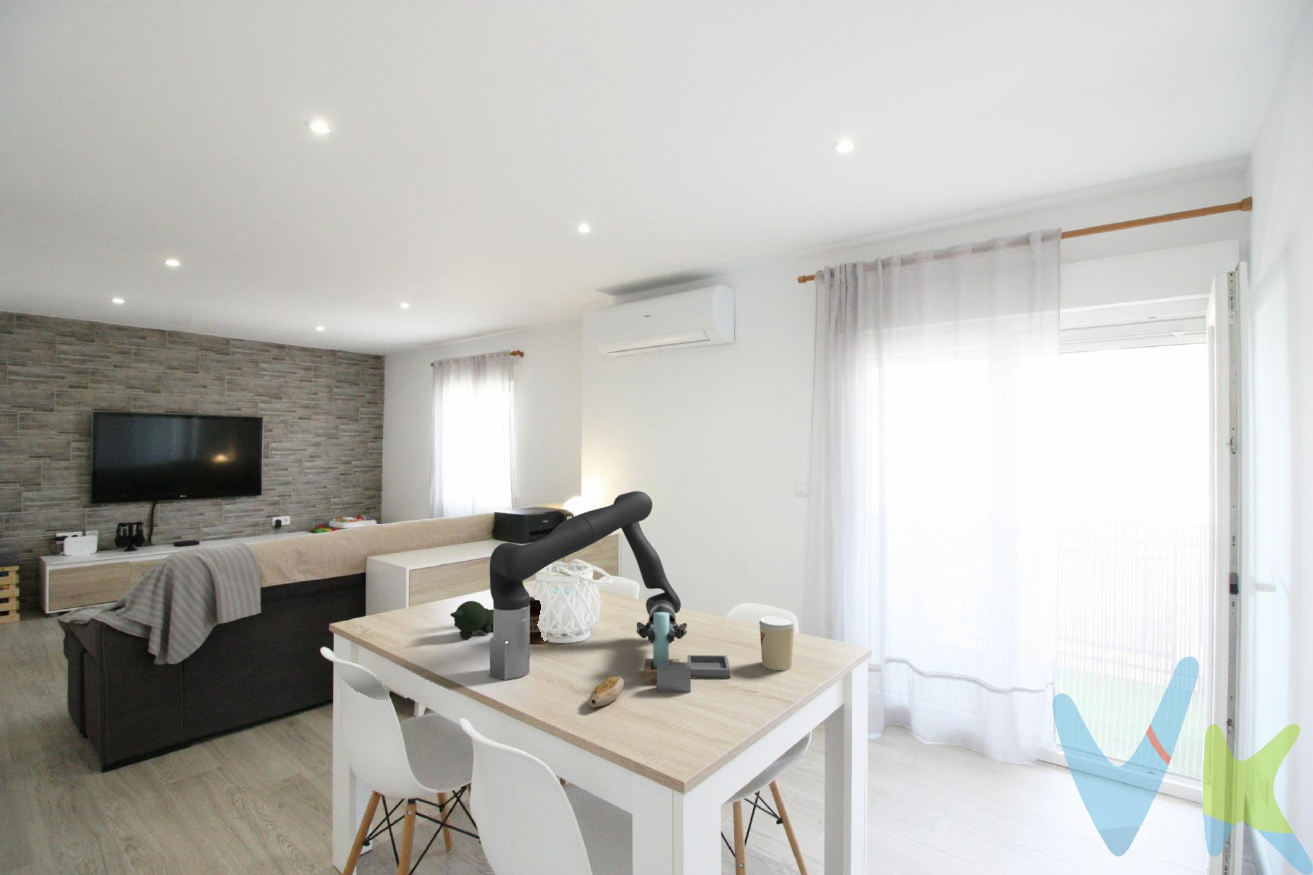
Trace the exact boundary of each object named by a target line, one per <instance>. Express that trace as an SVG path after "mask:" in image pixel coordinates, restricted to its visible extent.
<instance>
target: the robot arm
mask: <svg viewBox="0 0 1313 875" xmlns="http://www.w3.org/2000/svg"><path fill="white" fill-rule="evenodd" d="M652 510H653V501H652V499H651V497H650V496H649V495H648V494H647V493H646V492H644V491H639V490H633V491H630V492H629V491H628V492H625V493H621V494H619V495H617V496H616V497H615V499H614V501H613V504H610V505H607V506H604V507H599V508H595V509H591V510H589V511H585V512H582V513H580V514H576V515H575V516H572V517H570V518H568V519H566V520H563V521H562V522H559V524H558V525H557V526H555V528H554V529H553V530H552V531H551V532H550V533H549V534H548V535H546V536H545V537H542V538H540V539H538V540H535V541H533V542H529V543H526V544H517V543H512V542H503V543H499V545H497V546H496V547H495V548H494V550H493V551H492V553H491V555H490V559H489V590H490V594H491V598H492V603H493V604H492V605H493V607H492V608H493V609H492V610H493V629H492V633H493V634H492V635H493V636H492V637H490V638H489V675H490V676H491V677H495V678H497V679H500V680H503V681H508V680H511V679H512V680H513V679H517V678H518V679H519V678H522V677H524V676H526V675H528V674H529V673H530V665H531V664H530V659H531V658H530V657H531V656H530V655H531V654H530V648H531V647H530V644H531V643H530V597H531V596H530V593H529V592H528V591H527V589H526V588H525V585H524V583H523V581H525V580H527V579H529V578H530V577H532V576H534V575H535V574H537V573H539V572H540V571H541V570H543V569H544V568H546V567H548V566H549V565H551V564H553V563H555V562H557V561H559V560H561V559H563V558H566V557H568V556H570V555H572V554H574V553H576V552H579V551H581V550H584V549H585V548H586V547H589V546H591V545H593V544H595V543H597V542H598V541H600V540H603V539H604V538H606V537H608V536H609V535H611V534H612V533H615V532H616V531H618V530H620V529H621V531H622V533H623V535H624V536H625V539H626V541H627V542H628V545H629V547H630V548H631V549H630V550H631V551H632V553H633V555H634V558H635V560H636V562H637V566H638V569H639V572H640V576H641V578H642V582H643V584H644V586H645V588H646V589H647V590H654V589H660V590H662V591H663V592H661V593H657V594H655V595H652V596H650V597H648V598H647V599H646V602H645V609H646V612H647V615H648V621H647V622H646V624H645V623H642V622H640V621H637V622H636V633H637V634H638V635H639V636H640V638H642V639H647V641H648V642H650V644H653V641H654V632H653V624H654V613H656V612H666V613H669V644H672V642H675V638H676V639H678V640H681V639H682V638H683V637H684V636H685V635H686V634H687V632H688V623H686V622H684V623H681V624H678V623H677V620H676V618H677V617H676V614H678V613H679V612H680V610H681V607H682V603H681V599H680V597H679V595H678V594H677V592H676V591H675V589H673V587H672V585H671V584H670V581H669V580H668V577H667V576H666V573H665V572H666V571H665V569H664V566H663V563H662V561H661V559H660V555H659V554H658V552H657V551H656V549H655V548H654V547H653V546H652V544H651V542H650V541H649V540H648V539H647V537H646V536H645V534H644V532H643V530H642V527H641V524H640V522H641V521H644V520H646V519H647V518H648V517H649V516H650V514H651V513H652Z"/></svg>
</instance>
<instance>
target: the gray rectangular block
mask: <svg viewBox="0 0 1313 875" xmlns="http://www.w3.org/2000/svg"><path fill="white" fill-rule="evenodd" d="M691 679H692V678H691V666H690V662H687V661H686V662H684V661H680V662H657V684H656V692H657V693H691V691H692V690H691V688H692V686H691V682H692V681H691Z"/></svg>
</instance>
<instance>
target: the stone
mask: <svg viewBox="0 0 1313 875" xmlns="http://www.w3.org/2000/svg"><path fill="white" fill-rule="evenodd" d="M624 686H625V680H624V679H623V677H622V676H610V677H608V678H607V679H605V680H604V681H602V682H601V683H599V684H598V685H596V687H595V688H594V690H593V691H592V692H591V693H590V696H589V700H588V701H589V702H588V704H589V706H590V707H591V708H600V707H604V706H607V705H610V704H612V702H614V701H616V699H617V698H619V696H620V695H621V692H622V691H623V690H624Z"/></svg>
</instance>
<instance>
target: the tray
mask: <svg viewBox="0 0 1313 875" xmlns="http://www.w3.org/2000/svg"><path fill="white" fill-rule="evenodd" d="M728 659H729V658H728V656H727V655H724V654H723V655H722V654H720V655H719V654H716V655H715V654H714V655H713V654H711V655H710V654H709V655H707V654H695V655H694V654H687V659H686V660H687V661H686V662H690V666H691V679H693V678H695V679H697V678H698V679H702V678H703V679H731V666H730V663H729V660H728Z"/></svg>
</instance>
